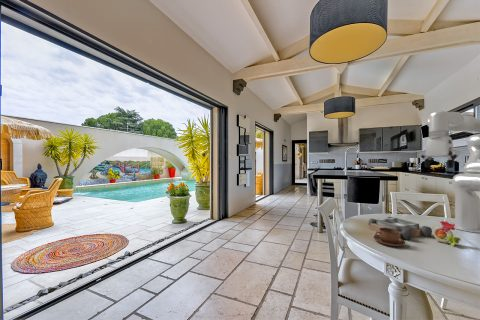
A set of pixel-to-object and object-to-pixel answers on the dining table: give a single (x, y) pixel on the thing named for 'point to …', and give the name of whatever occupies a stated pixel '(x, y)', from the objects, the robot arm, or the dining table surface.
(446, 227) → the bird rattle
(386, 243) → the cup and saucer
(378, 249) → the dining table surface
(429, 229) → the chassis
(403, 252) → the dining table surface
